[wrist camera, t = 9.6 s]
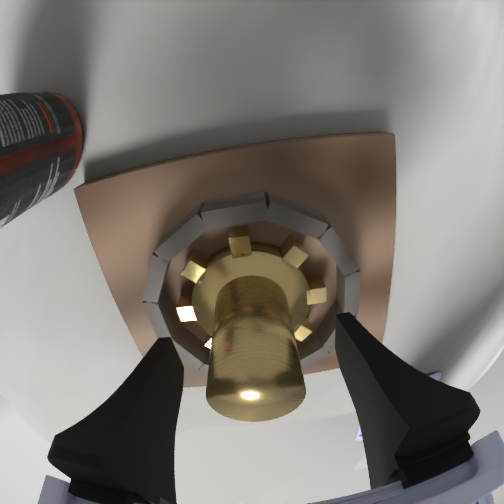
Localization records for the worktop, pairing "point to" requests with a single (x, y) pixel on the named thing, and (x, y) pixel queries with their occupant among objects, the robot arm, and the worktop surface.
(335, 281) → the collar board
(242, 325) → the planet gear
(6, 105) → the supplement bottle
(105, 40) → the worktop surface
